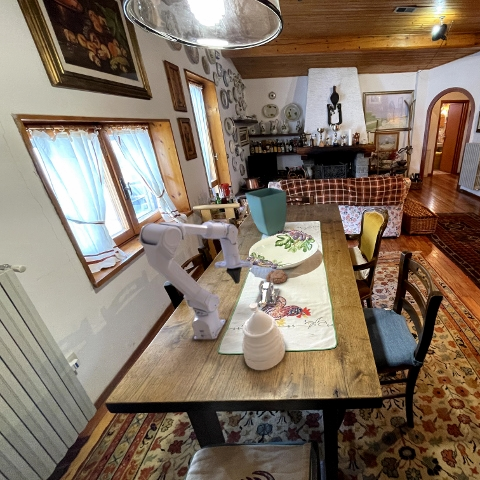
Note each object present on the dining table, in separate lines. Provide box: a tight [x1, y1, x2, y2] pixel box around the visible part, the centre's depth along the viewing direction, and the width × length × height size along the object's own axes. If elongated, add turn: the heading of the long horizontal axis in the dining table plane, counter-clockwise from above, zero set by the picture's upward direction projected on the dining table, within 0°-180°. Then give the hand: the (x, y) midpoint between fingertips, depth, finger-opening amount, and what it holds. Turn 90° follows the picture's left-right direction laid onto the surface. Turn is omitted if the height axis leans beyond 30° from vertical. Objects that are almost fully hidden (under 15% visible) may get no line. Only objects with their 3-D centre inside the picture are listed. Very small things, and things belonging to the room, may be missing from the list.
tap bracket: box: [255, 280, 280, 306], centre depth 107 cm, size 10×8×7 cm
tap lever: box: [259, 282, 270, 308], centre depth 104 cm, size 11×3×3 cm, turn 177°
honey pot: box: [241, 302, 286, 371], centre depth 78 cm, size 13×13×18 cm
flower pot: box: [244, 187, 288, 237], centre depth 173 cm, size 20×20×28 cm
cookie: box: [265, 269, 288, 285], centre depth 122 cm, size 10×11×3 cm
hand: (237, 282), depth 104 cm, fingers closed
